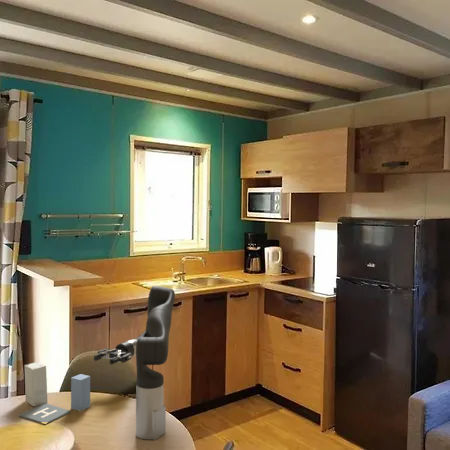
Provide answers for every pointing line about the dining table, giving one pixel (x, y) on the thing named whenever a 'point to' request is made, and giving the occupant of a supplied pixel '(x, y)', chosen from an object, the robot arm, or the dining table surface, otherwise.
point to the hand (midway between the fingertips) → (102, 360)
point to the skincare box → (35, 384)
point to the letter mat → (44, 413)
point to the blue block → (80, 392)
